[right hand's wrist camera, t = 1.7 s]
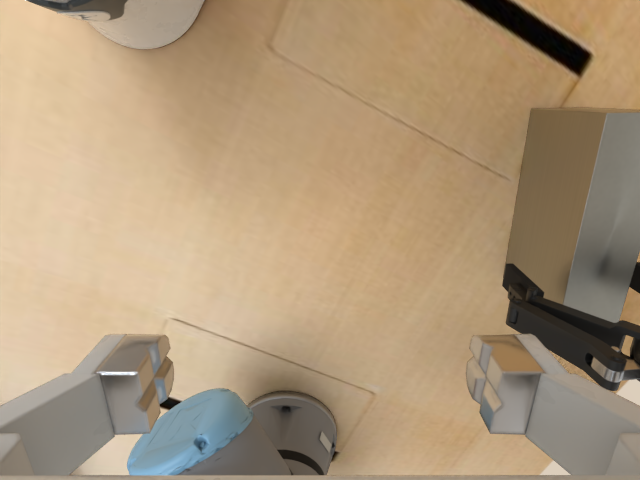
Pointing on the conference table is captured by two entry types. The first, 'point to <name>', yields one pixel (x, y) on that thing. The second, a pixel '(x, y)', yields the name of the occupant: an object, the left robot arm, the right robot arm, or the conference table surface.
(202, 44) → the conference table surface
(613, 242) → the box
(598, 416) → the right robot arm
